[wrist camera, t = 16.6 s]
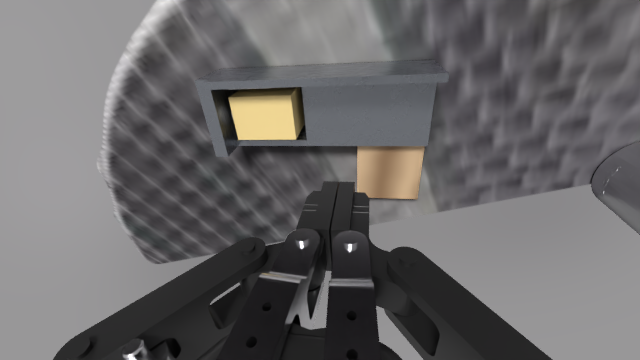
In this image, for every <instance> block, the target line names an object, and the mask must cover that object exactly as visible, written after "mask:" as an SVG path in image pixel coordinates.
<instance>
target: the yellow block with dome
mask: <svg viewBox="0 0 640 360" xmlns="http://www.w3.org/2000/svg"><path fill="white" fill-rule="evenodd" d="M228 99H229V103H230V107H231V113H232V118H233V121H234V124H235V128H236V132H237V136H238V140H296V139H297V137H298V135H299V133H300V131H301V129H302V128H303V126H304V124H305V123H304V114H303V104H302V95H301V87H282V88H259V89H240V90H239V91H237V92H236V93H234V94H233V95H231V96H230V97H228Z"/></svg>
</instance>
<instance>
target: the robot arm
mask: <svg viewBox="0 0 640 360" xmlns="http://www.w3.org/2000/svg"><path fill="white" fill-rule="evenodd" d="M591 187H592V191H593V193H594V194H595V196H596V197H597V198H598V199H599V200H600V201H601V202H603V203H604V204H605V205H606V206H607V207H608V208H609V209H611V210H612V211H613V212H614V213H615V214H617V215H618V216H619V217H620V218H621V219H622V220H623V221H624V222H626V223H627V224H628V225H629V226H630V227H631V228H633V229H634V230H635V231H636V232H637V233H638V234H640V142H636V143H633V144H631V145H628V146H626V147H624V148H622V149H620V150H618V151H617V152H615V153H613V154H612V155H611V156H610V157H608V158H607V159H606V160H605V161H604V162H603V163H602V164H601V165H600V166H599V167H598V169H597V170H596V172H595V173H594V176H593V179H592V186H591ZM326 271H331V281H329V288H328V303H327V317H326V328H320V329H313V325H314V321H315V317H316V314H317V310H318V306H319V302H320V299H321V295H322V291H323V287H324V277H325V272H326ZM238 282H240V285H239V286H238V287H236V288H235V289H233V290H232V291H230V292H229V293H227V294H226V295H225V296H223V297H222V298H220V299H219V300H217V301H216V302H214V303H213V304H212V305H210V303H211V301H212V300H213V299H215V298H216V297H217V296H219V295H220V294H222V293H223V292H225V291H226V290H228V289H229V288H231V287H232V286H234V285H235V284H237V283H238ZM376 306H379V307H382V308H384V310H385V313H386V315H387V316H388V317H389V319H390V320H391V321H392V322H393V323H394V324H395V326H396V327H397V328H398V329H399V331H400V332H401V333H402V334H403V335H404V336H405V338H406V339H407V340H408V341H409V342H410V344H411V345H412V346H413V347H414V348H415V350H416V351H417V352H418V353H419V354H420V356H421V357H422V358H423V359H424V360H552V359H551V358H550V357H548V356H547V355H546V354H545V353H544V352H542V351H541V350H540V349H538V348H537V347H536V346H535V345H534V344H533V343H531V342H530V341H529V340H528V339H526V338H525V337H524V336H523V335H521V334H520V333H519V332H518V331H517V330H515V329H514V328H513V327H512V326H511V325H509V324H508V323H507V322H506V321H504V320H503V319H502V318H501V317H499V316H498V315H497V314H496V313H494V312H493V311H492V310H491V309H490V308H488V307H487V306H486V305H485V304H484V303H482V302H481V301H480V300H479V299H477V298H476V297H475V296H474V295H473V294H471V293H470V292H469V291H468V290H466V289H465V288H464V287H463V286H461V285H460V284H459V283H458V282H457V281H455V280H454V279H453V278H452V277H451V276H449V275H448V274H447V273H446V272H444V271H443V270H442V269H441V268H440V267H438V266H437V265H436V264H435V263H433V262H432V261H431V260H430V259H428V258H427V257H426V256H425V255H424V254H422V253H421V252H420V251H418V250H416V249H414V248H410V247H398V248H395V249H393V250H392V251H391V252H388V251H384V250H381V249H379V248H377V247H376V246H375V245H373V244H372V242H371V241H370V239H369V198H368V196H367V195H366V193H364V192H355V182H340V183H339V182H325V181H324V183H323V186H322V190H321V191H313V192H312V193H311V194H310V195H309V196H308V197H307V199H306V201H305V205H304V207H303V211H302V213H301V216H300V219H299V222H298V225H297V228H296V230H294V231H292V232H291V233H289V234H288V236H287V237H286V239H285V241H284V242H282V243H278V244H273V245H268V246H266V245H265V242H264V241H263V240H262V239H260V238H256V237H249V238H245V239H242V240H240V241H238V242H237V243H235V244H233V245H232V246H230V247H228V248H226V249H225V250H223V251H221V252H220V253H218V254H216V255H214V256H213V257H211V258H209V259H207V260H206V261H204V262H202V263H201V264H199V265H197V266H195V267H194V268H192V269H190V270H189V271H187V272H185V273H183V274H182V275H180V276H178V277H176V278H175V279H173V280H171V281H170V282H168V283H166V284H165V285H163V286H161V287H159V288H158V289H156V290H154V291H152V292H151V293H149V294H147V295H146V296H144V297H142V298H141V299H139V300H137V301H135V302H134V303H132V304H130V305H129V306H127V307H125V308H123V309H121V310H120V311H118V312H116V313H115V314H113V315H111V316H109V317H108V318H106V319H104V320H103V321H101V322H99V323H97V324H96V325H94V326H92V327H91V328H89V329H87V330H85V331H84V332H82V333H80V334H78V335H77V336H75V337H74V338H72V339H71V340H70V341H68V342H67V343H66V344H65V345H64V346H63V347H62V348H61V349H60V351H59V352H58V353H57V354H56V356H55V357H54V359H53V360H402V359H401V358H400V357H399V355H397V354H396V353H395V352H394V351H393V350H392V349H390V348H389V347H387V346H386V345H384V344H383V343H381V342H379V332H378V322H377V311H376Z"/></svg>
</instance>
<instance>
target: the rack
mask: <svg viewBox="0 0 640 360" xmlns="http://www.w3.org/2000/svg"><path fill="white" fill-rule="evenodd" d="M448 77H449V73H448V72H447V71H446V70H445V69H444V68H443V67H442V66H440V65H439V64H438V63H437V62H436V61H435V60H412V61H389V62H367V63H344V64H322V65H299V66H277V67H254V68H232V69H219V70H217V71H215V72H212V73H210V74H208V75H206V76H203V77H201V78H199V79H197V80H195V84H196V87H197V91H198V94H199V98H200V101H201V105H202V108H203V112H204V115H205V119H206V122H207V126H208V129H209V132H210V136H211V139H212V143H213V146H214V150H215V153H216V157H228V156H229V155H230V154H231V153H232V152H233V151H234V150H235V149H236V148H237V146H428V140H429V133H430V126H431V119H432V112H433V106H434V99H435V92H436V85H437V83H438V82H448ZM282 87H302V95H303V105H304V115H305V126H306V131H300V133H299V135H298V137H297V139H296V140H238V136H237V132H236V128H235V124H234V121H233V118H232V113H231V107H230V103H229V99H228V97H230V96H231V95H233V94H234V93H236V92H237V90H236V89H259V88H282Z"/></svg>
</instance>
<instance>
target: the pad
mask: <svg viewBox="0 0 640 360" xmlns="http://www.w3.org/2000/svg"><path fill="white" fill-rule="evenodd" d="M424 147H425V146H357V192H364V193H366V195H367V196H368V198H397V199H417V197H418V190H419V183H420V176H421V169H422V161H423V154H424Z"/></svg>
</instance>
